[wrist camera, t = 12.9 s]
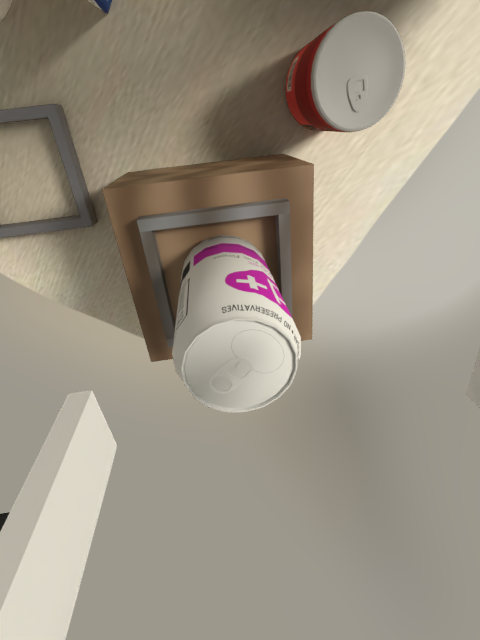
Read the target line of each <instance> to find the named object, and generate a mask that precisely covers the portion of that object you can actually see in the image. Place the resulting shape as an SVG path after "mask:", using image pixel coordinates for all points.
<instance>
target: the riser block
mask: <svg viewBox="0 0 480 640" xmlns="http://www.w3.org/2000/svg"><path fill="white" fill-rule="evenodd" d="M313 189H314V164H312V163H309V162H306V161H303V160H300V159H297V158H294V157H291V156H288V155H285V154H279V155H271V156H262V157H254V158H245V159H237V160H229V161H220V162H212V163H203V164H195V165H186V166H178V167H169V168H161V169H153V170H144V171H136V172H128V173H126V174H125V175H123V176H122V177H120V178H119V179H117V180H116V181H114V182H113V183H111V184H110V185H108V186H107V187H105V188H104V189H102V191H103V195H104V198H105V202H106V205H107V209H108V212H109V216H110V219H111V223H112V226H113V230H114V233H115V237H116V240H117V244H118V247H119V251H120V254H121V258H122V261H123V265H124V268H125V272H126V275H127V279H128V282H129V286H130V289H131V293H132V296H133V300H134V303H135V307H136V310H137V314H138V317H139V321H140V324H141V328H142V331H143V335H144V338H145V341H146V345H147V349H148V352H149V355H150V359H151V361H152V362H154V361H161V360H168V359H173V356H172V350H173V341H174V333H175V325H176V316H177V308H178V300H179V292H180V283H181V275H182V270H183V265H184V261H185V260H186V258H187V256H188V255H189V253H190V252H191V250H192V249H193V248H194V247H196V246H197V245H198V244H200V243H201V242H202V241H204V240H205V239H209V238H212V237H216V236H219V235H227V236H237V237H239V238H242V239H244V240H246V241H248V242H250V243H252V244H253V245H254V246H255V247H256V248H257V249H258V250H259V251H260V252H261V254H262V256H263V258H264V260H265V262H266V264H267V267H268V269H269V271H270V273H271V275H272V277H273V279H274V281H275V283H276V285H277V287H278V289H279V292H280V294H281V296H282V298H283V300H284V302H285V304H286V306H287V308H288V310H289V312H290V314H291V316H292V319H293V321H294V323H295V325H296V328H297V330H298V332H299V334H300V337H301V341H303V340H309V339H312V295H313Z"/></svg>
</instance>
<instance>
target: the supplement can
mask: <svg viewBox="0 0 480 640" xmlns="http://www.w3.org/2000/svg"><path fill="white" fill-rule="evenodd" d="M172 356H173V360H174V364H175V369H176V372H177V374H178V375H179V377H180V378H181V379H182V381H183V382H184V385H185V386H186V388H187V389H188V390H189V392H190V393H191V394H192V396H193V397H194V398H195V399H197V400H198V401H199V402H201V403H203V404H204V405H206V406H207V407H209V408H213V409H216V410H220V411H224V412H247V411H251V410H254V409H258V408H262V407H264V406H266V405H268V404H269V403H271V402H273V401H275V400H276V399H278V398H279V397H280V396H281V395H282V394H283V393H284V392H285V391H286V390H287V389H288V388H289V386H290V385H291V383H292V381H293V378H294V376H295V374H296V372H297V363H298V361H299V359H300V356H301V337H300V334H299V332H298V330H297V328H296V325H295V323H294V321H293V319H292V316H291V314H290V312H289V310H288V308H287V306H286V304H285V302H284V300H283V298H282V296H281V294H280V292H279V289H278V287H277V285H276V283H275V281H274V279H273V277H272V275H271V273H270V271H269V269H268V267H267V264H266V262H265V260H264V258H263V256H262V254H261V252H260V251H259V250H258V249H257V248H256V247H255V246H254V245H253V244H252V243H250V242H248V241H246V240H244V239H242V238H239V237H237V236H227V235H219V236H216V237H212V238H209V239H205V240H204V241H202V242H201V243H200V244H198V245H197V246H196V247H194V248H193V249H192V250H191V252H190V253H189V255H188V256H187V258H186V260H185V261H184V265H183V270H182V275H181V283H180V292H179V300H178V308H177V316H176V325H175V333H174V341H173V350H172Z"/></svg>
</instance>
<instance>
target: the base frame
mask: <svg viewBox="0 0 480 640" xmlns="http://www.w3.org/2000/svg"><path fill="white" fill-rule="evenodd" d="M45 118H48V119H49V122H50V125H51V128H52V131H53V134H54V137H55V140H56V143H57V146H58V149H59V152H60V155H61V158H62V162H63V165H64V168H65V171H66V174H67V177H68V180H69V183H70V186H71V189H72V192H73V195H74V198H75V201H76V204H77V207H78V210H79V213H80V215H79V216H71V217H62V218H54V219H46V220H38V221H30V222H22V223H13V224H5V225H0V238H2V237H10V236H18V235H26V234H34V233H42V232H50V231H58V230H66V229H74V228H82V227H90V226H94V225H95V224H96V223H97V219H96V216H95V213H94V210H93V206H92V203H91V200H90V197H89V193H88V190H87V187H86V184H85V180H84V177H83V174H82V170H81V167H80V164H79V161H78V157H77V154H76V151H75V148H74V144H73V141H72V138H71V134H70V131H69V128H68V125H67V121H66V118H65V115H64V112H63V108H62V105H58V104H49V105H40V106H31V107H22V108H13V109H4V110H0V123H8V122H18V121H27V120H36V119H45Z"/></svg>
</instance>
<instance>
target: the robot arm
mask: <svg viewBox="0 0 480 640" xmlns="http://www.w3.org/2000/svg"><path fill="white" fill-rule="evenodd" d="M466 394H467V395H468V397H470V399H471V400H472V401H473V402H474V403H475V404H476V405H477V406H478V407H479V408H480V350H479V353H478V356H477V360H476V363H475V366H474V370H473V373H472V376H471V379H470V382H469V386H468V389H467V392H466ZM116 448H117V445H116V443H115V440H114V438H113V436H112V433H111V431H110V429H109V427H108V425H107V423H106V420H105V418H104V416H103V414H102V412H101V409H100V407H99V405H98V403H97V400H96V398H95V396H94V394H93V392H92V390H90V391H83V392H77V393H70V394H68V396H67V398H66V400H65V402H64V404H63V406H62V408H61V410H60V412H59V414H58V416H57V418H56V420H55V422H54V424H53V426H52V428H51V430H50V432H49V434H48V436H47V439H46V440H45V443H44V444H43V446H42V448H41V451H40V452H39V455H38V457H37V459H36V461H35V463H34V465H33V467H32V469H31V471H30V473H29V475H28V477H27V479H26V481H25V483H24V485H23V487H22V489H21V491H20V493H19V495H18V497H17V499H16V501H15V503H14V506H13V507H12V509H11V511H10V512H9V513H3V514H0V640H65V639H66V635H67V631H68V628H69V624H70V620H71V617H72V613H73V609H74V605H75V602H76V598H77V594H78V590H79V587H80V583H81V579H82V575H83V572H84V568H85V564H86V560H87V556H88V553H89V549H90V546H91V541H92V538H93V534H94V530H95V527H96V523H97V519H98V516H99V512H100V508H101V504H102V501H103V497H104V493H105V489H106V486H107V481H108V478H109V474H110V471H111V467H112V463H113V459H114V456H115V452H116Z"/></svg>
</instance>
